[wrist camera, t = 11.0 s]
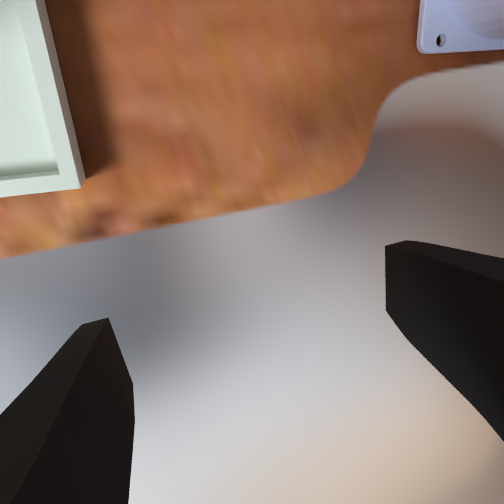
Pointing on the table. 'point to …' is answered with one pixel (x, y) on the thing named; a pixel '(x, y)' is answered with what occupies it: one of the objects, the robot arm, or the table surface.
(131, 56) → the table surface
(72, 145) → the sage tray
